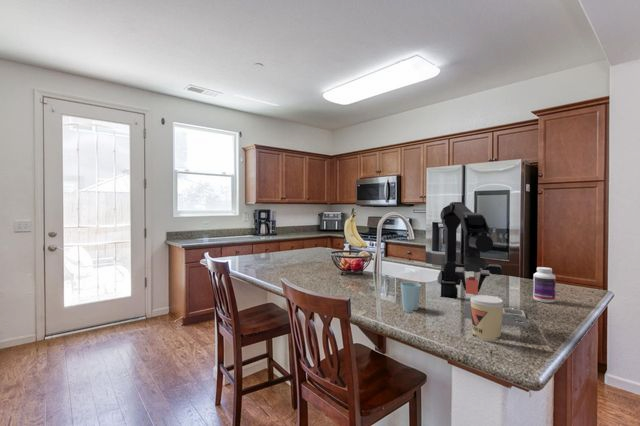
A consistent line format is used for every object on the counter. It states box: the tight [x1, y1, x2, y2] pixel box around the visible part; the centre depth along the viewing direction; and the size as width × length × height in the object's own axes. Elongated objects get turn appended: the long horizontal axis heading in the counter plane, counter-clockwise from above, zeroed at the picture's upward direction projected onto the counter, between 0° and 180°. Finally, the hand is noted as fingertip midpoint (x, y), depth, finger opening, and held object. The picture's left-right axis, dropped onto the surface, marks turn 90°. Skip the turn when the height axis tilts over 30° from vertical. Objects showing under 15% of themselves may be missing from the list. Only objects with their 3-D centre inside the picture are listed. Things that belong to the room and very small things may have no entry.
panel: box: [462, 302, 530, 328], centre depth 121 cm, size 20×20×2 cm
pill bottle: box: [532, 266, 557, 304], centre depth 142 cm, size 8×8×14 cm
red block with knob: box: [465, 275, 479, 295], centre depth 119 cm, size 4×4×6 cm
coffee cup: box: [470, 294, 505, 342], centre depth 102 cm, size 9×9×12 cm
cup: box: [400, 281, 422, 314], centre depth 127 cm, size 8×8×10 cm
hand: (471, 291), depth 119 cm, fingers closed on red block with knob, 4 cm apart
